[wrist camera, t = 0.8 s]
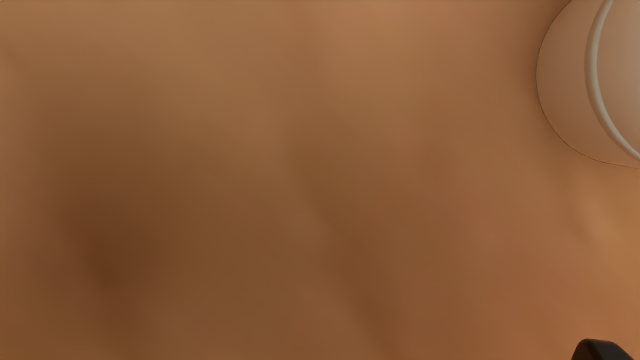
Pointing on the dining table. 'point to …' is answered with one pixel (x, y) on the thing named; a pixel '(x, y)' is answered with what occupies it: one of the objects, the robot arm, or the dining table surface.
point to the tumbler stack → (594, 79)
